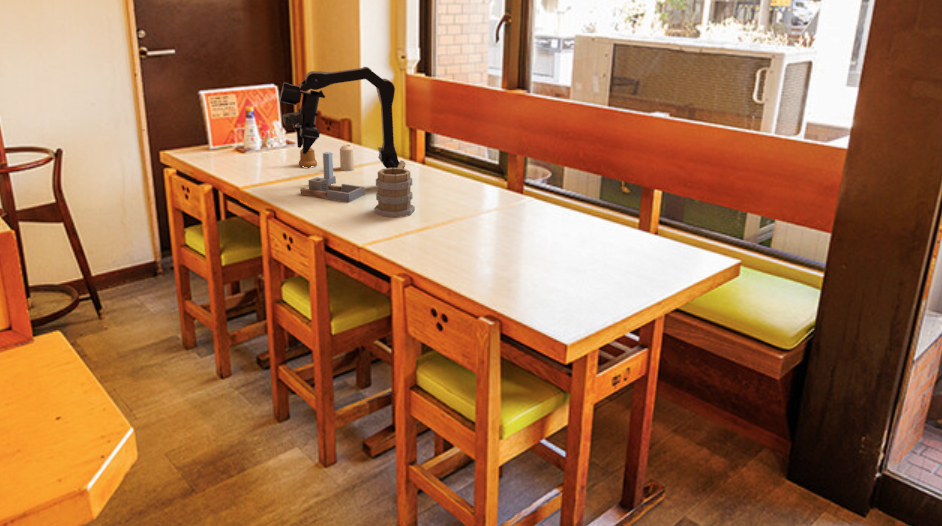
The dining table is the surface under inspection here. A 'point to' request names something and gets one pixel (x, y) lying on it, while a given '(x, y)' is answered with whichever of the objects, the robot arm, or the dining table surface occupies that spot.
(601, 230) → the dining table surface
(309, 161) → the ornamental finial
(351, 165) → the candle
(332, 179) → the grey notched beam
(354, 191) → the box
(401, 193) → the tankard
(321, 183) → the dice cube
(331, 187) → the slot rails
